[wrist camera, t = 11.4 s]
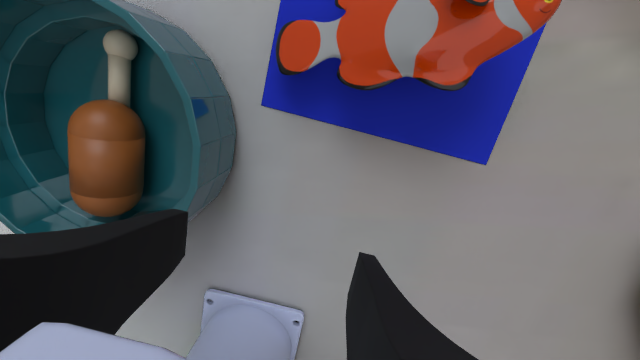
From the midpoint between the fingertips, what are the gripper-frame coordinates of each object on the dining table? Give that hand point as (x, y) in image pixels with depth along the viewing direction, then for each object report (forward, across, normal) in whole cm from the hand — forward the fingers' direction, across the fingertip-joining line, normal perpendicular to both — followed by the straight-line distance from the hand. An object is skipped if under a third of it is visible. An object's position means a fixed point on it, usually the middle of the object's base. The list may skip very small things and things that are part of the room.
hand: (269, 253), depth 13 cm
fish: (+10, -4, -11) cm, 15 cm away
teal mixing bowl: (+9, +12, -2) cm, 16 cm away
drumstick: (+9, +12, -2) cm, 15 cm away
